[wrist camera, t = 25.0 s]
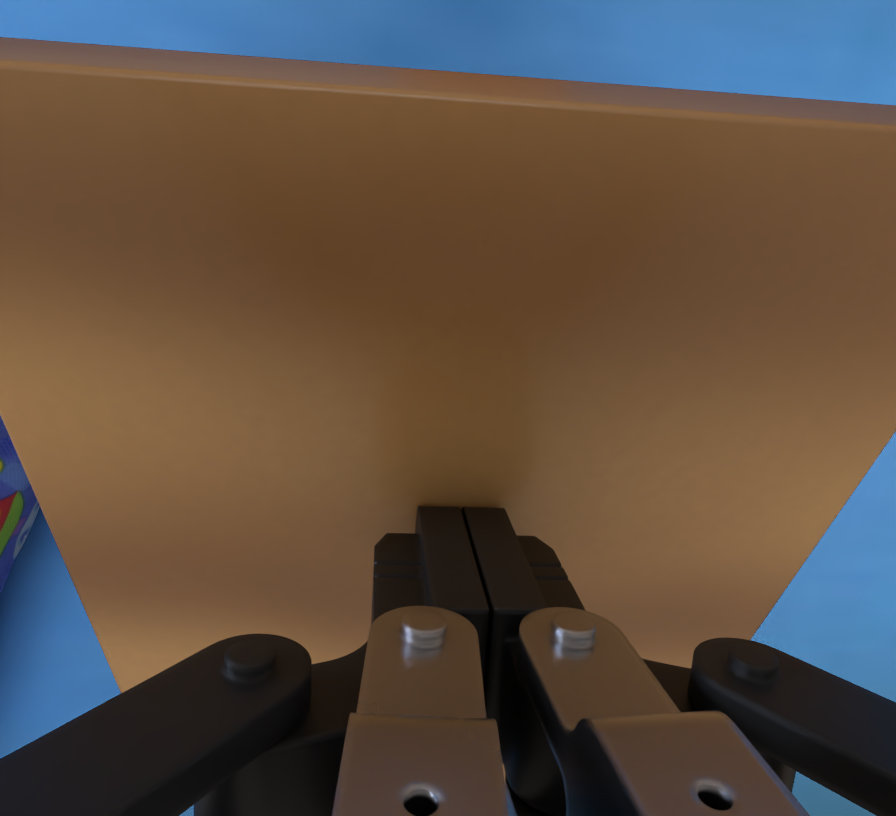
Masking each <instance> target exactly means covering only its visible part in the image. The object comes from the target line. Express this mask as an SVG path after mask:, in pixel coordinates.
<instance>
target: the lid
mask: <svg viewBox="0 0 896 816" xmlns="http://www.w3.org/2000/svg"><path fill="white" fill-rule="evenodd" d="M0 415H1V418H2V420H3V422H4V425H5V427H6V429H7V431H8V434H9V436H10V438H11V441H12V443H13V445H14V448H15V450H16V452H17V454H18V457H19V459H20V461H21V464H22V466H23V468H24V471H25V473H26V475H27V477H28V480H29V482H30V484H31V487H32V489H33V491H34V494H35V496H36V498H37V500H38V503H39V505H40V507H41V510H42V512H43V514H44V517H45V519H46V521H47V524H48V526H49V528H50V530H51V533H52V535H53V537H54V540H55V542H56V544H57V547H58V549H59V551H60V553H61V556H62V558H63V560H64V563H65V565H66V567H67V570H68V572H69V574H70V576H71V579H72V581H73V583H74V586H75V588H76V590H77V593H78V595H79V597H80V599H81V602H82V604H83V606H84V609H85V611H86V613H87V616H88V618H89V620H90V622H91V625H92V627H93V629H94V632H95V634H96V636H97V639H98V641H99V643H100V645H101V648H102V650H103V652H104V655H105V657H106V659H107V662H108V664H109V666H110V668H111V671H112V673H113V675H114V678H115V680H116V682H117V685H118V687H119V689H120V691H121V693H123V692H125V691H127V690H129V689H130V688H132V687H134V686H136V685H138V684H140V683H142V682H143V681H145V680H147V679H149V678H151V677H153V676H154V675H156V674H158V673H160V672H162V671H164V670H165V669H167V668H169V667H171V666H173V665H175V664H177V663H178V662H180V661H182V660H184V659H186V658H188V657H189V656H191V655H193V654H195V653H197V652H199V651H200V650H202V649H204V648H206V647H208V646H210V645H212V644H214V643H216V642H218V641H221V640H224V639H227V638H230V637H234V636H239V635H245V634H273V635H279V636H283V637H286V638H289V639H292V640H294V641H296V642H298V643H299V644H301V645H302V646H303V647H304V648H305V649H306V650H307V651H308V653H309V654H310V657H311V661H312V664H316V663H321V662H326V661H330V660H334V659H337V658H340V657H343V656H346V655H348V654H350V653H352V652H354V651H356V650H357V649H359V648H360V647H361V646H363V645H364V644H365V643H366V642H367V641H368V636H369V630H370V627H371V614H372V590H373V566H374V546H375V545H376V544H377V543H378V542H379V541H380V540H381V539H382V538H383V537H384V535H385V534H386V533H412V534H415V529H416V514H417V507H418V506H442V507H460V509H462V507H489V508H505V510H506V512H507V515H508V517H509V519H510V522H511V524H512V526H513V528H514V531H515V533H516V535H518V536H535V537H537V538H538V539H540V540H541V541H543V542H544V543H545V544H547V545H548V546H550V547H551V548H552V549H554V551H555V553H556V555H557V557H558V559H559V561H560V563H561V567H563V568H564V570H565V572H566V574H567V576H568V580H570V582H571V583H572V585H573V587H574V589H575V591H576V593H577V595H578V597H579V599H580V600H581V602H582V604H583V606H584V608H585V610H586V611H589V612H592V613H595V614H597V615H600V616H602V617H604V618H606V619H608V620H609V621H611V622H612V623H614V624H615V625H616V626H617V627H619V629H620V630H621V631H622V632H623V633H624V635H625V636H626V637H627V639H628V640H629V641H630V643H631V644H632V646H633V647H634V648H635V650H636V651H637V653H638V654H639V655H640V657H641V658H643V659H646V660H651V661H655V662H660V663H665V664H670V665H675V666H680V667H686V668H691V666H692V660H693V653H694V650H695V648H696V647H697V646H698V645H699V644H700V643H702V642H704V641H706V640H709V639H714V638H726V637H729V638H740V639H746V640H751V638H752V637H753V635H754V634H755V632H756V631H757V630H758V628H759V627H760V625H761V624H762V622H763V621H764V620H765V618H766V617H767V615H768V614H769V612H770V611H771V609H772V608H773V607H774V605H775V604H776V602H777V601H778V599H779V598H780V597H781V595H782V594H783V592H784V591H785V589H786V588H787V587H788V585H789V584H790V582H791V581H792V579H793V578H794V576H795V575H796V574H797V572H798V571H799V569H800V568H801V566H802V565H803V564H804V562H805V561H806V559H807V558H808V556H809V555H810V554H811V552H812V551H813V549H814V548H815V546H816V545H817V543H818V542H819V541H820V539H821V538H822V536H823V535H824V533H825V532H826V531H827V529H828V528H829V526H830V525H831V523H832V522H833V521H834V519H835V518H836V516H837V515H838V513H839V512H840V510H841V509H842V508H843V506H844V505H845V503H846V502H847V500H848V499H849V498H850V496H851V495H852V493H853V492H854V490H855V489H856V487H857V486H858V485H859V483H860V482H861V480H862V479H863V477H864V476H865V475H866V473H867V472H868V470H869V469H870V467H871V466H872V465H873V463H874V462H875V460H876V459H877V457H878V456H879V454H880V453H881V452H882V450H883V449H884V447H885V446H886V444H887V443H888V442H889V440H890V439H891V437H892V436H893V434H894V433H895V432H896V106H895V105H881V104H868V103H855V102H842V101H829V100H816V99H803V98H790V97H777V96H764V95H751V94H738V93H724V92H711V91H698V90H685V89H672V88H659V87H646V86H633V85H620V84H607V83H594V82H581V81H567V80H554V79H541V78H528V77H515V76H502V75H489V74H476V73H463V72H450V71H437V70H424V69H411V68H397V67H384V66H371V65H358V64H345V63H332V62H319V61H306V60H293V59H280V58H267V57H254V56H240V55H227V54H214V53H201V52H188V51H175V50H162V49H149V48H136V47H123V46H110V45H97V44H83V43H70V42H57V41H44V40H31V39H18V38H5V37H0ZM502 766H503V774H504V782H505V769H504V764H502Z"/></svg>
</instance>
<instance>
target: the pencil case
mask: <svg viewBox="0 0 896 816" xmlns="http://www.w3.org/2000/svg"><path fill="white" fill-rule="evenodd" d="M39 508H40V505H39V503H38V500H37V498H36V496H35V494H34V491H33V489H32V487H31V484H30V482H29V480H28V477H27V475H26V473H25V471H24V468H23V466H22V464H21V461H20V459H19V457H18V454H17V452H16V450H15V448H14V445H13V443H12V441H11V438H10V436H9V434H8V431H7V429H6V427H5V425H4V422H3V420H2V418H1V415H0V593H1V591H2V589H3V587H4V585H5V582H6V580H7V577H8V575H9V572H10V570H11V567H12V565H13V562H14V561H15V559H16V557H17V555H18V554H19V552H20V550H21V548H22V546H23V544H24V542H25V540H26V538H27V536H28V534H29V532H30V529H31V527H32V525H33V523H34V520H35V518H36V516H37V513H38V510H39Z"/></svg>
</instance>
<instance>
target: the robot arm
mask: <svg viewBox="0 0 896 816" xmlns="http://www.w3.org/2000/svg"><path fill="white" fill-rule="evenodd" d="M502 764H504V769H505V782H504V774H503V766H502ZM796 771H797V772H799V773H801V774H803V775H804V776H806V777H808V778H810V779H812V780H813V781H815V782H817V783H819V784H821V785H822V786H824V787H826V788H828V789H830V790H831V791H833V792H835V793H837V794H839V795H841V796H842V797H844V798H846V799H848V800H850V801H851V802H853V803H855V804H857V805H859V806H860V807H862V808H864V809H866V810H868V811H869V812H871V813H873V814H875V815H877V816H896V703H895V702H893V701H891V700H889V699H886V698H884V697H882V696H880V695H877V694H875V693H873V692H871V691H868V690H866V689H864V688H862V687H860V686H857V685H855V684H853V683H851V682H848V681H846V680H844V679H842V678H840V677H837V676H835V675H833V674H831V673H828V672H826V671H824V670H822V669H819V668H817V667H815V666H813V665H811V664H808V663H806V662H804V661H802V660H799V659H797V658H795V657H793V656H790V655H788V654H786V653H784V652H782V651H779V650H777V649H775V648H772V647H770V646H767V645H764V644H761V643H758V642H755V641H750V640H746V639H740V638H729V637H726V638H714V639H709V640H706V641H704V642H702V643H700V644H699V645H698V646H697V647H696V648H695V650H694V653H693V660H692V666H691V668H686V667H680V666H675V665H670V664H665V663H660V662H655V661H651V660H646V659H643V658H641V657H640V655H639V654H638V653H637V651H636V650H635V648H634V647H633V646H632V644H631V643H630V641H629V640H628V639H627V637H626V636H625V635H624V633H623V632H622V631H621V630H620V629H619V627H617V626H616V625H615V624H614V623H612V622H611V621H609V620H608V619H606V618H604V617H602V616H600V615H597V614H595V613H592V612H589V611H586V610H585V608H584V606H583V604H582V602H581V600H580V599H579V597H578V595H577V593H576V591H575V589H574V587H573V585H572V583H571V582H570V580H568V576H567V574H566V572H565V570H564V568H563V567H561V563H560V561H559V559H558V557H557V555H556V553H555V551H554V549H552V548H551V547H550V546H548V545H547V544H545V543H544V542H543V541H541V540H540V539H538V538H537V537H535V536H518V535H516V533H515V531H514V528H513V526H512V524H511V522H510V519H509V517H508V515H507V512H506V510H505V508H489V507H462V509H460V507H442V506H418V507H417V514H416V529H415V534H412V533H386V534H385V535H384V537H383V538H382V539H381V540H380V541H379V542H378V543H377V544H376V545H375V546H374V566H373V590H372V614H371V627H370V630H369V636H368V641H367V642H366V643H365V644H364V645H363V646H361V647H360V648H359V649H357V650H356V651H354V652H352V653H350V654H348V655H346V656H343V657H340V658H337V659H334V660H330V661H326V662H321V663H316V664H312V661H311V657H310V654H309V653H308V651H307V650H306V649H305V648H304V647H303V646H302V645H301V644H299V643H298V642H296V641H294V640H292V639H289V638H286V637H283V636H279V635H273V634H245V635H239V636H234V637H230V638H227V639H224V640H221V641H218V642H216V643H214V644H212V645H210V646H208V647H206V648H204V649H202V650H200V651H199V652H197V653H195V654H193V655H191V656H189V657H188V658H186V659H184V660H182V661H180V662H178V663H177V664H175V665H173V666H171V667H169V668H167V669H165V670H164V671H162V672H160V673H158V674H156V675H154V676H153V677H151V678H149V679H147V680H145V681H143V682H142V683H140V684H138V685H136V686H134V687H132V688H130V689H129V690H127V691H125V692H123V693H121V694H119V695H118V696H116V697H114V698H112V699H110V700H108V701H107V702H105V703H103V704H101V705H99V706H97V707H95V708H94V709H92V710H90V711H88V712H86V713H84V714H83V715H81V716H79V717H77V718H75V719H73V720H71V721H70V722H68V723H66V724H64V725H62V726H60V727H59V728H57V729H55V730H53V731H51V732H49V733H48V734H46V735H44V736H42V737H40V738H38V739H36V740H35V741H33V742H31V743H29V744H27V745H25V746H24V747H22V748H20V749H18V750H16V751H14V752H13V753H11V754H9V755H7V756H5V757H3V758H1V759H0V816H179V815H180V814H182V813H183V812H184V811H186V810H187V809H188V808H190V807H191V806H192V805H194V816H810V815H809V814H808V813H807V811H806V810H805V809H804V808H803V807H802V805H801V804H800V803H799V802H798V800H797V799H796V798H795V797H794V795H793V794H792V788H793V783H794V779H795V774H796Z"/></svg>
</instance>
